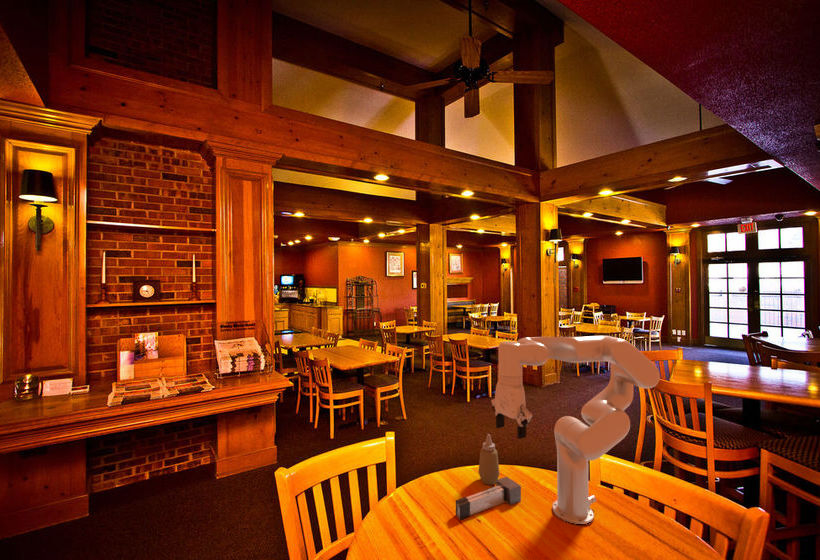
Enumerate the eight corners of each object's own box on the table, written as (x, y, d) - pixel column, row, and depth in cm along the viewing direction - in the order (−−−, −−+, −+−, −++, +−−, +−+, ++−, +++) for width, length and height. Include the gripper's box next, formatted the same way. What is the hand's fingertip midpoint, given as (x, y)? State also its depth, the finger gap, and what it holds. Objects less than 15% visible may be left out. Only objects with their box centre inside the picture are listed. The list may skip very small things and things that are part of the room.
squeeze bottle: (501, 487, 140) (501, 439, 140) (480, 487, 140) (480, 439, 140) (497, 475, 148) (496, 430, 148) (476, 475, 148) (476, 430, 148)
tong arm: (501, 500, 131) (501, 487, 131) (504, 502, 129) (504, 489, 129) (457, 517, 122) (457, 503, 122) (460, 520, 120) (460, 505, 120)
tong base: (506, 491, 137) (506, 476, 137) (520, 501, 131) (520, 485, 131) (452, 512, 125) (452, 495, 125) (465, 523, 119) (465, 506, 119)
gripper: (484, 375, 127) (484, 425, 127) (522, 388, 112) (522, 445, 112) (500, 372, 130) (500, 421, 130) (539, 384, 115) (539, 439, 115)
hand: (510, 432), depth 121 cm, fingers open, 9 cm apart
